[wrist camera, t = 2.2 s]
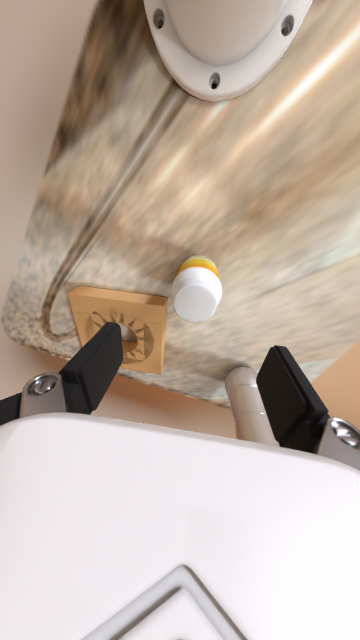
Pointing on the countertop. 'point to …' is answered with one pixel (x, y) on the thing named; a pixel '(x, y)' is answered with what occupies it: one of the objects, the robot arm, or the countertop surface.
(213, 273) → the supplement bottle
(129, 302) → the socket pad
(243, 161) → the countertop surface
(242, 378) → the plastic bottle
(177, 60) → the robot arm
